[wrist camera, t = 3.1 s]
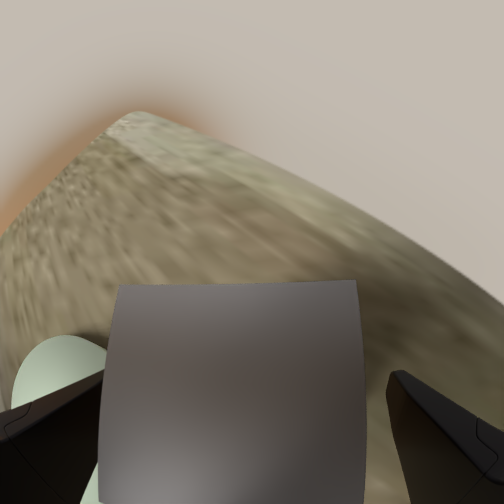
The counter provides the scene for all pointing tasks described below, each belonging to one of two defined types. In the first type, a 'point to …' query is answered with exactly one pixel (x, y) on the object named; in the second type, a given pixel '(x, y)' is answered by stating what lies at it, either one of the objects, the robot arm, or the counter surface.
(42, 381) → the sage green coaster
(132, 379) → the grey cushioned footstool
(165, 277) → the counter surface
